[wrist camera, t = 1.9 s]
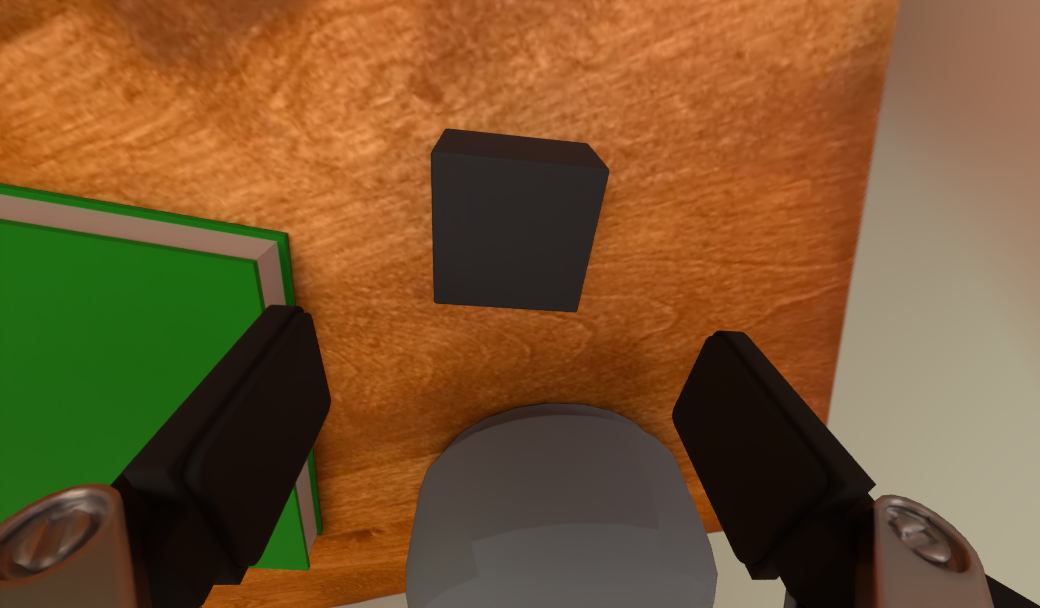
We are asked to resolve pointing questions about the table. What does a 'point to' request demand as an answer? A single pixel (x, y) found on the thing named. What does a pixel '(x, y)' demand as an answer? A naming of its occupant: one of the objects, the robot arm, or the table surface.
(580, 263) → the black block
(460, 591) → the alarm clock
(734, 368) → the robot arm
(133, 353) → the book
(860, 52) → the table surface
